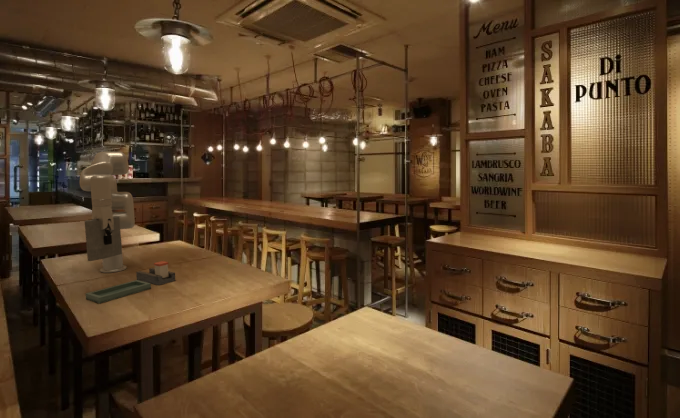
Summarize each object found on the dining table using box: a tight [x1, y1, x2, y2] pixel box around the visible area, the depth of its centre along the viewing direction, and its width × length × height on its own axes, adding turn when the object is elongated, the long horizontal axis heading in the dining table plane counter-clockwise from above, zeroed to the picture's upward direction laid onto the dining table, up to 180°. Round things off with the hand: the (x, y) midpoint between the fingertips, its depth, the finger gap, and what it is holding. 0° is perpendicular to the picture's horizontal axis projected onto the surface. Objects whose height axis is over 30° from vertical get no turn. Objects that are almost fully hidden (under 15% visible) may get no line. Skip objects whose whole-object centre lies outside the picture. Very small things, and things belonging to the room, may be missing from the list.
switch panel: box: [135, 267, 176, 286], centre depth 199 cm, size 18×9×4 cm, turn 58°
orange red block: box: [153, 260, 169, 278], centre depth 196 cm, size 4×5×7 cm
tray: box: [84, 279, 152, 304], centre depth 178 cm, size 11×23×2 cm, turn 148°
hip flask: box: [84, 216, 123, 262], centre depth 180 cm, size 16×4×20 cm, turn 156°
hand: (105, 243), depth 181 cm, fingers closed on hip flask, 4 cm apart
